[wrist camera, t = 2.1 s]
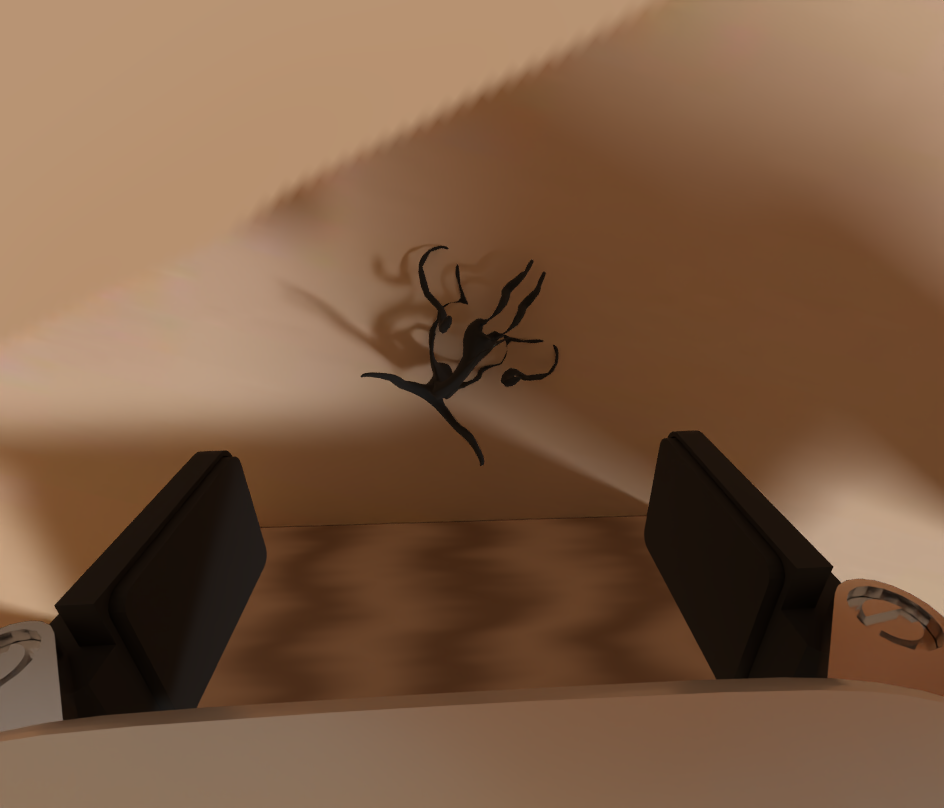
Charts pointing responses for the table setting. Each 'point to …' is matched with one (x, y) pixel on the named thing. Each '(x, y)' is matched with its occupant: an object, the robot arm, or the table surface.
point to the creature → (467, 352)
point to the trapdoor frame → (454, 612)
